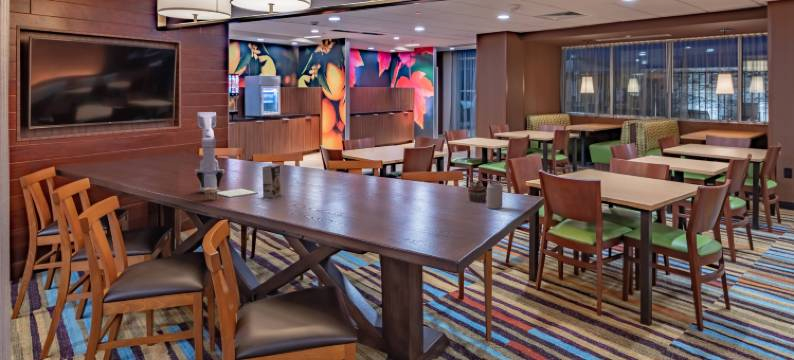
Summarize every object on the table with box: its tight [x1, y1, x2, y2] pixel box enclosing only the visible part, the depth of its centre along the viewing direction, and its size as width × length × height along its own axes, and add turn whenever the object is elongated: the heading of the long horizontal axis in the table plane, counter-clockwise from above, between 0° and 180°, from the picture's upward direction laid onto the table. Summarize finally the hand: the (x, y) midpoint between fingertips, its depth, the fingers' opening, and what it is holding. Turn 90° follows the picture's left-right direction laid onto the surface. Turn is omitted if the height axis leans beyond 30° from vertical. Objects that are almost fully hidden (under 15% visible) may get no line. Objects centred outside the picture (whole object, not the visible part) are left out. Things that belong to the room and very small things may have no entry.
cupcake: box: [467, 180, 487, 203], centre depth 286 cm, size 10×10×10 cm
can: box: [485, 182, 504, 210], centre depth 268 cm, size 8×8×12 cm
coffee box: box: [262, 164, 281, 198], centre depth 297 cm, size 9×6×16 cm
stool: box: [203, 187, 219, 201], centre depth 289 cm, size 5×5×6 cm
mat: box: [217, 188, 259, 199], centre depth 306 cm, size 17×17×1 cm
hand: (210, 187), depth 288 cm, fingers open, 7 cm apart
